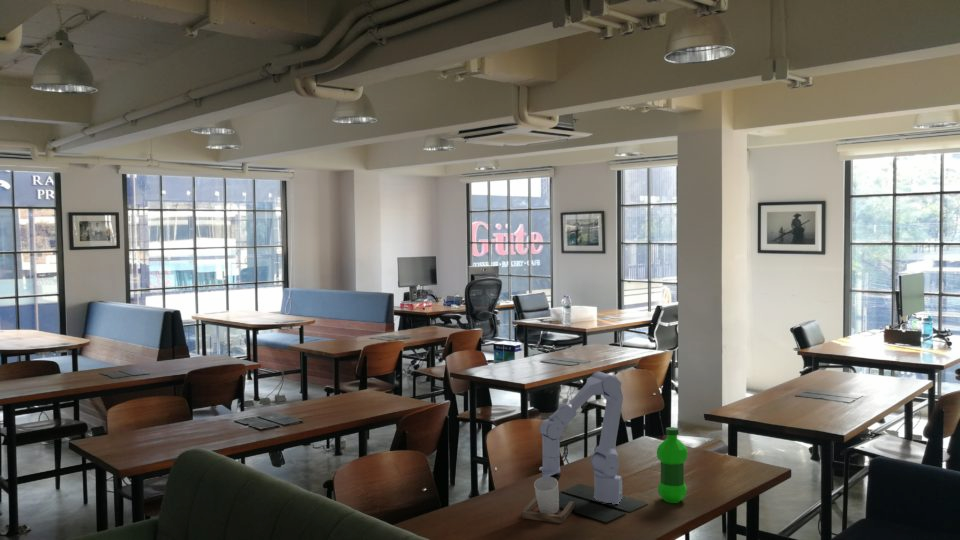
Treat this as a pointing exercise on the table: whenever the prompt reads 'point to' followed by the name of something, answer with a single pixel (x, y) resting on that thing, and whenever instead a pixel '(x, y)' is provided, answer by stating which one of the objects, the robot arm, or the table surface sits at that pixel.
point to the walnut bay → (560, 518)
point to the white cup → (547, 495)
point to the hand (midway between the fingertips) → (551, 495)
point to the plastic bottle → (672, 467)
